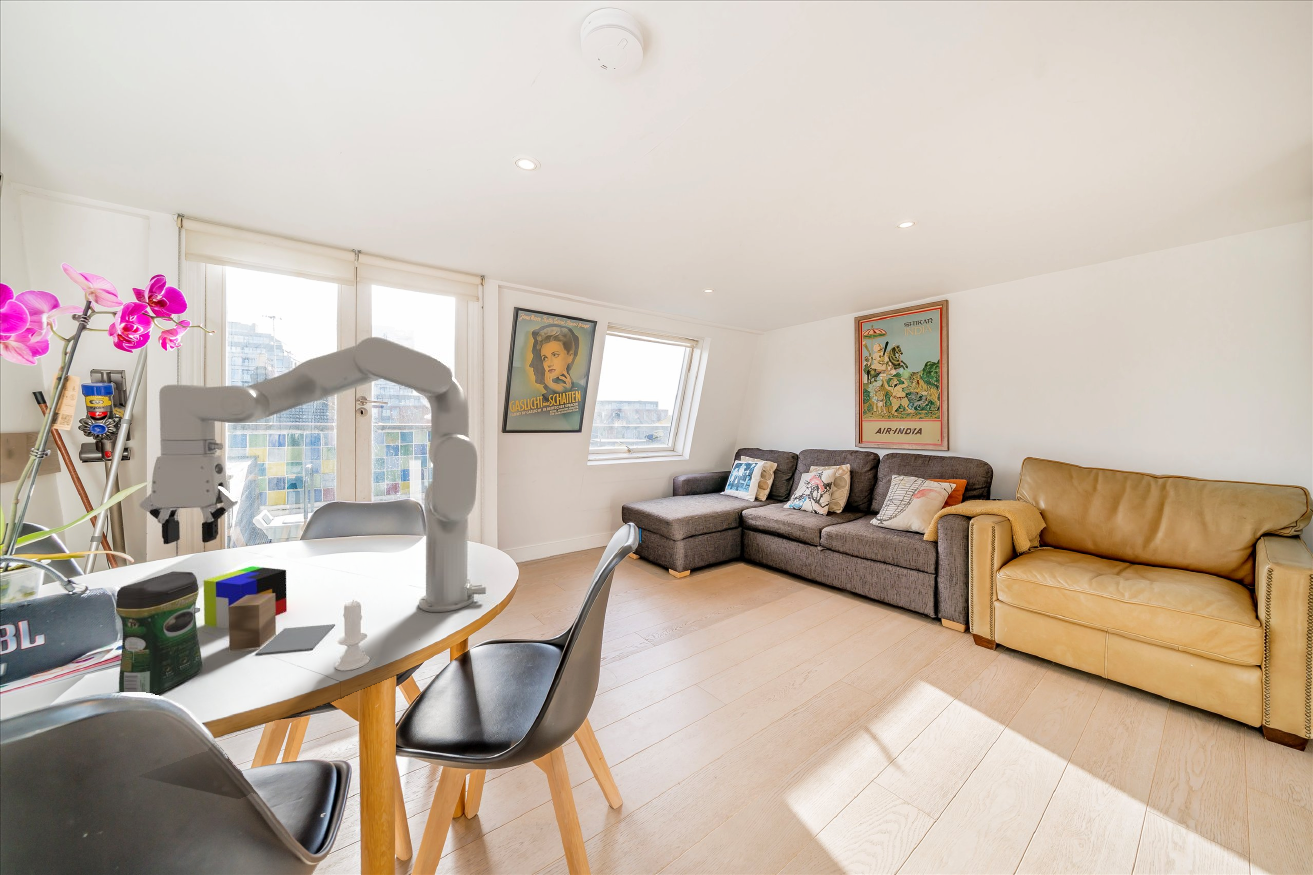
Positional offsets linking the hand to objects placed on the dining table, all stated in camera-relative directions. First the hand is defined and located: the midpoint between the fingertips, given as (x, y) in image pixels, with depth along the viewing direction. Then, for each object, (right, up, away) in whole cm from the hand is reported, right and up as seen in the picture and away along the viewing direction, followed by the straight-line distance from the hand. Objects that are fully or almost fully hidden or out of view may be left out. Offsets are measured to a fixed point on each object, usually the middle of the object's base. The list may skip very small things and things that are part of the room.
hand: (190, 540), depth 91 cm
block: (+9, -22, +3) cm, 24 cm away
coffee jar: (+6, -22, -11) cm, 25 cm away
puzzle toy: (-2, -21, +15) cm, 26 cm away
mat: (+17, -22, +5) cm, 28 cm away
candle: (+34, -23, -3) cm, 41 cm away
